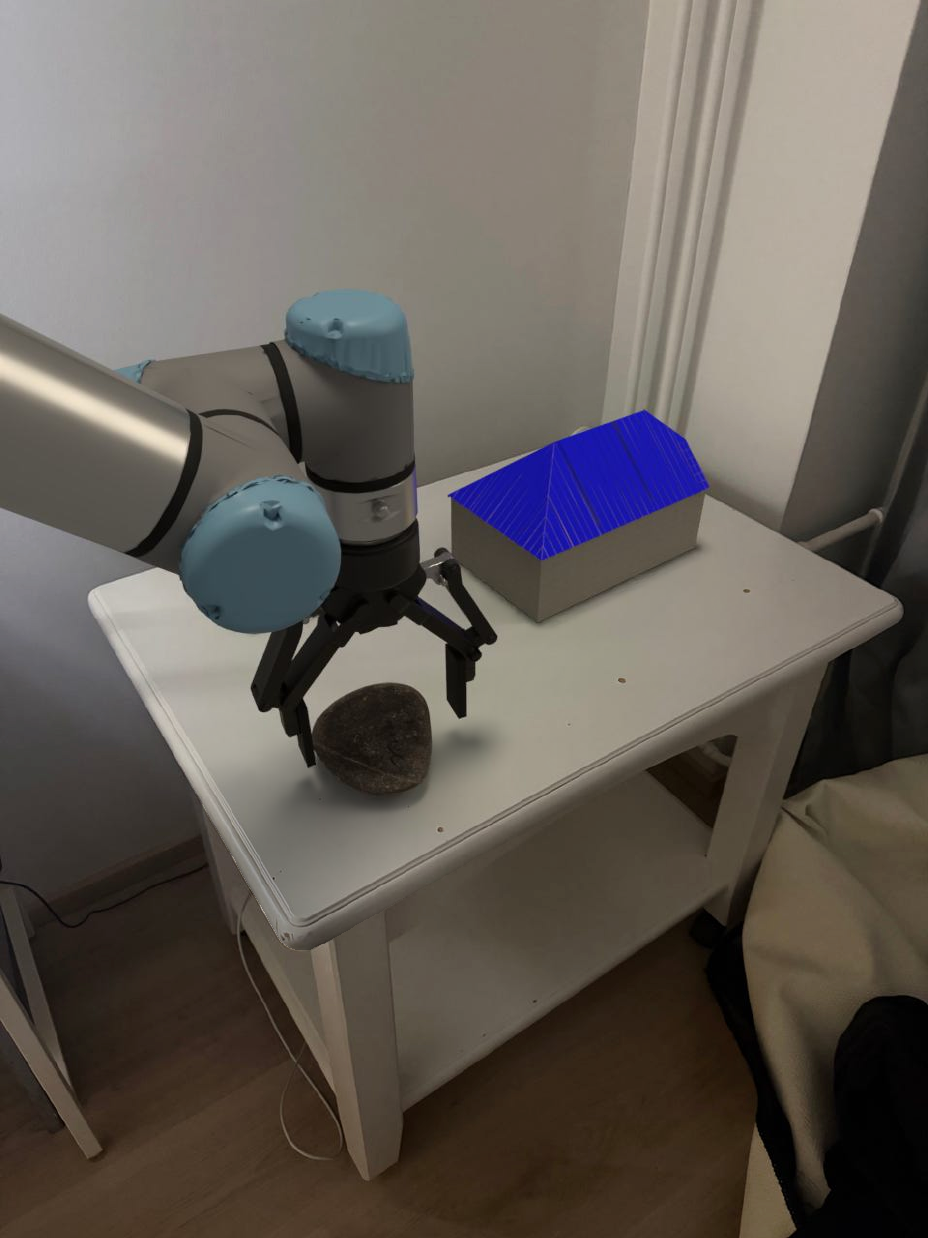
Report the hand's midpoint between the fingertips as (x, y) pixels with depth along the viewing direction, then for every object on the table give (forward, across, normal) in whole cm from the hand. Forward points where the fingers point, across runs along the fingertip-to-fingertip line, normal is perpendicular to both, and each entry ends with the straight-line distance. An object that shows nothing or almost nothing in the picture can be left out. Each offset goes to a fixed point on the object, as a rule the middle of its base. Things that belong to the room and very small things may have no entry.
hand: (384, 731), depth 76 cm
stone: (+4, 0, 0) cm, 4 cm away
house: (+4, +32, +22) cm, 39 cm away
